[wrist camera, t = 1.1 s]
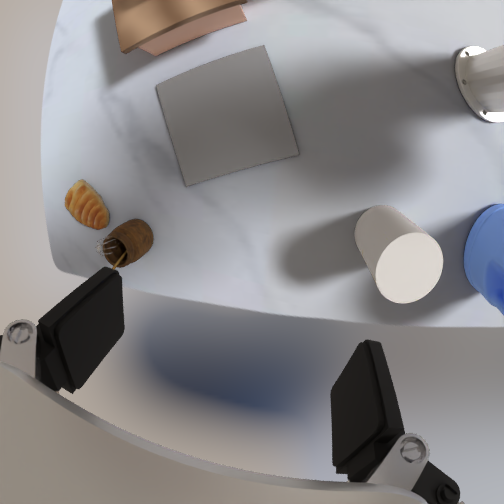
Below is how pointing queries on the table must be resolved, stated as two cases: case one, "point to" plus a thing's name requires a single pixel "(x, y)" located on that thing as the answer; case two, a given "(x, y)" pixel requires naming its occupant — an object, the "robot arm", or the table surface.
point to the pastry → (87, 205)
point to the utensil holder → (127, 243)
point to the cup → (398, 254)
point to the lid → (159, 17)
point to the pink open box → (195, 30)
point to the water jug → (487, 256)
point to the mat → (227, 116)
